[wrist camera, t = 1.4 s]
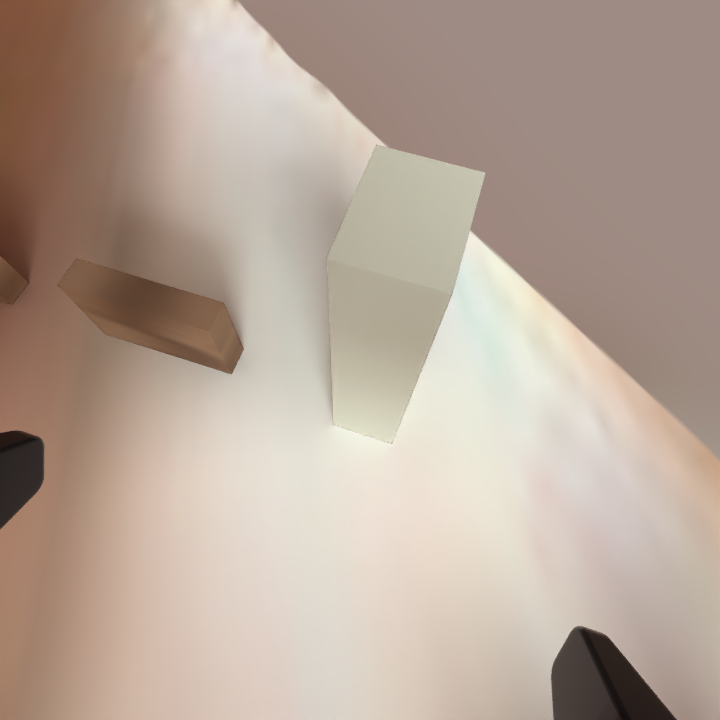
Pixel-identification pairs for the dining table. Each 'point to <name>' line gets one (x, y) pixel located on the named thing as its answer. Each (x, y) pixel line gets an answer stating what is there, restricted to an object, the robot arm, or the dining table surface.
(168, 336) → the walnut slotted plate
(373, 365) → the sage plank
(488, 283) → the dining table surface
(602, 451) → the dining table surface
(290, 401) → the dining table surface
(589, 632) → the robot arm
